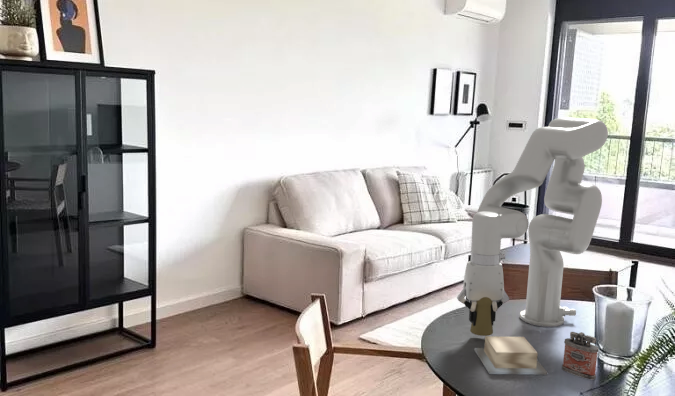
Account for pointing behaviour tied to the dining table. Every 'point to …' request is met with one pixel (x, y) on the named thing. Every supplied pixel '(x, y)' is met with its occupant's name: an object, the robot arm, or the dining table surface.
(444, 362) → the dining table surface
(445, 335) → the dining table surface
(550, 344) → the dining table surface
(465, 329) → the dining table surface
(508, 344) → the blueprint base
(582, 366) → the lighter
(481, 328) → the olive brown knobbed peg
